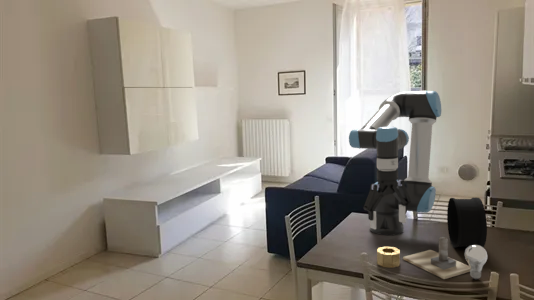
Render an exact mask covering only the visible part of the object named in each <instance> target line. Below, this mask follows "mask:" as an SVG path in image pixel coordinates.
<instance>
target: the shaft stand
mask: <svg viewBox="0 0 534 300" xmlns="http://www.w3.org/2000/svg"><path fill="white" fill-rule="evenodd" d="M402 260H404V261H406V262H408V263H409V264H412V265H414V266H416V267H418V268H420V269H422V270H424V271H426V272H428V273H430V274H431V275H434V276H437V277H439V278H441V279H442V280H446V279H449V278H452V277H456V276H457V277H458V276H460V275H463V274H466V273H470V268H469V264H468V265H467V264H466V263H463V262H461V261H459V260H456V259H454V258H451V257H449V238H448V237H445V236H440V237H438V252H437V251H435V250H432V249H428V250H425V251H421V252H420V251H419V252H416V253H413V254H409V255H404V256H402Z"/></svg>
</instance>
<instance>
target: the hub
mask: <svg viewBox="0 0 534 300" xmlns="http://www.w3.org/2000/svg"><path fill="white" fill-rule="evenodd" d="M376 259H377V260H376V261H377V262H376V264H377V265H378V266H380V267H382V268H390V269H392V268H396V267H397V268H398V267H400V264H401V250H400V249H398V248H397V247H394V246H382V247H381V246H380V247H378V248H377V250H376Z"/></svg>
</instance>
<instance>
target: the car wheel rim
mask: <svg viewBox="0 0 534 300" xmlns="http://www.w3.org/2000/svg"><path fill="white" fill-rule="evenodd" d="M446 212H447V213H446V219H447V220H446V221H447V231H448V236H449V238H448V239H449V241H450V244H451V246H452V247H453V248H458V247H466V248H467V247H469V246H470V245H480V246H482V247H483V248H485V245H486V242H487V236H488V223H487V222H488V221H487V215H486V209H485V206H484V203H483V201H482V199H481V198H480V197H472V198H455V197H450V198H449V199H448V202H447V211H446Z"/></svg>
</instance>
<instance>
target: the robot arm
mask: <svg viewBox="0 0 534 300" xmlns="http://www.w3.org/2000/svg"><path fill="white" fill-rule="evenodd" d="M441 116H442V103H441V98H440V95H439V93H438V92H437V91H436V90H419V91H418V90H416V91H402V92H401V91H400V92H397V93H395V94H393V95H390V96H389V97H388V98H386V99H384V100H383V101H382V103H381V104H380V105H379V108H378V109H377V111H376V112H375V113H374V114H373V115H372V117H370V119H369V120H368V121H367V122H366V123H365V124H364V125H363V126H362V128H360V129H359V128H357V129H352V130H351V131H350V132H349V134H348V135H349V136H348V143H349V146H350V147H351V148H353V149H360V150H361V149H368V150H369V149H372V150H373V149H374V150H376V168H377V170H376V180H377V181H376V182H375V183H371V184H370V188H369V192H368V195H367V197H366V200H365V203H364V205H363V210H364V211H367V212H368V214H367V216H368V217H367V218H368V220H369V230H370V231H371V232H372V233H374V234H378V235H385V236H394V235H399V234H402V233H403V232H404V229H405V228H404V224H406V220H407V219H406V214H407V212H415V213H429V212H430V211H431V210H432V208H433V206H434V203H435V201H436V195H437V194H436V188H435V186H432V185H433V184H432V183H433V182H432V181H431V180H430V178H429V177H430V175H429V173H430V164H431V163H430V162H431V148H432V134H433V125H434V124H435V123H437V118H439V117H441ZM398 118H408V121H409V122H410V123H411V134H410V138H409V134H408V133H407V131H406V130H404V129H401V128H398V127H396V126H389V125H390V124H391V123H392V121H395V120H397V119H398ZM409 139H410V146H409V157H408V160H409V161H408V173H407V177H406V178H405V179H404V180H403V179H399V170H398V168H399V150H401V149H403V148H405V147H406V146H407V145H408V143H409Z"/></svg>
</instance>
